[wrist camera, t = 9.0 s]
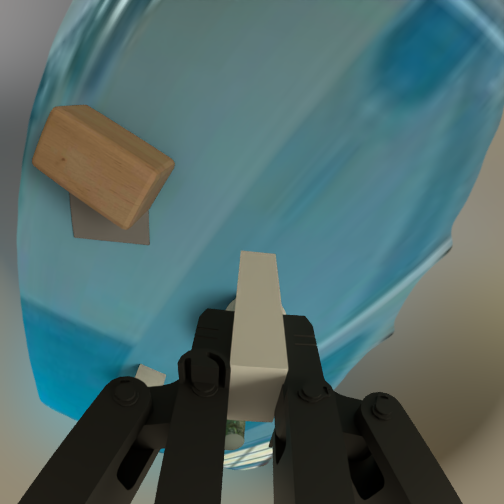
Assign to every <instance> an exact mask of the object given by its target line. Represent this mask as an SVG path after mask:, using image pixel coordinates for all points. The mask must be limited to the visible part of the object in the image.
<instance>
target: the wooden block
mask: <svg viewBox="0 0 504 504" xmlns="http://www.w3.org/2000/svg"><path fill="white" fill-rule="evenodd" d="M32 164H33V165H34V166H35V167H36V168H37V169H39V170H40V171H41V172H43V173H44V174H45V175H47V176H48V177H49V178H51V179H52V180H54V181H55V182H56V183H58V184H59V185H60V186H62V187H63V188H64V189H66V190H67V191H69V192H70V193H71V194H73V195H74V196H76V197H77V198H78V199H80V200H81V201H83V202H84V203H85V204H87V205H88V206H90V207H91V208H93V209H94V210H95V211H97V212H98V213H100V214H101V215H103V216H104V217H106V218H107V219H108V220H110V221H111V222H113V223H114V224H116V225H117V226H119V227H120V228H122V229H125V230H128V229H129V228H131V227H132V226H133V225H134V224H135V223H136V222H137V221H138V220H139V219H140V218H141V217H142V216H143V215H144V214H145V213H146V212H147V211H148V210H149V209H150V207H151V205H152V203H153V202H154V200H155V198H156V197H157V195H158V193H159V192H160V190H161V188H162V187H163V185H164V183H165V182H166V180H167V178H168V177H169V175H170V174H171V172H172V170H173V169H174V166H175V163H174V161H173V160H172V159H171V158H170V157H168V156H166V155H165V154H163V153H162V152H160V151H159V150H157V149H156V148H154V147H153V146H151V145H150V144H148V143H146V142H145V141H143V140H142V139H140V138H139V137H137V136H136V135H134V134H132V133H131V132H129V131H128V130H126V129H124V128H123V127H121V126H120V125H118V124H117V123H115V122H113V121H112V120H110V119H109V118H107V117H105V116H104V115H102V114H101V113H99V112H97V111H96V110H94V109H92V108H91V107H89V106H88V105H72V106H58V107H54V108H53V109H52V111H51V112H50V114H49V117H48V119H47V122H46V124H45V126H44V129H43V131H42V134H41V137H40V139H39V142H38V145H37V147H36V150H35V153H34V156H33V159H32Z"/></svg>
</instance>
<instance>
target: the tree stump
mask: <svg viewBox="0 0 504 504" xmlns="http://www.w3.org/2000/svg"><path fill="white" fill-rule="evenodd" d="M244 431H245V421H241V420H229V419H227V424H226V437H225V450H235V449H238V448H239V447H241V446H242V445H243V444H244Z"/></svg>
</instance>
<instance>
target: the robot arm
mask: <svg viewBox="0 0 504 504" xmlns="http://www.w3.org/2000/svg"><path fill="white" fill-rule="evenodd" d="M316 345H317V344H316V339H315V335H314V330H313V326H312V324H311V323H310V322H309V320H308V319H307V318H306V317H305V316H298V315H284V314H282V306H281V297H280V288H279V280H278V271H277V263H276V255H275V254H269V253H259V252H249V251H241V256H240V266H239V276H238V285H237V295H236V305H235V311H227V310H218V309H209V308H207V309H206V310H205V311H204V312H203V313H202V315H201V316H200V317H199V321H198V325H197V329H196V333H195V337H194V341H193V345H192V349H191V350H190V351H188V352H186V353H185V354H184V355H182V356H181V358H180V360H179V361H178V373H179V380H177V381H175V382H173V383H171V384H167V385H161V386H151V387H147V385H146V384H145V383H144V382H143V381H141V380H140V379H138V378H134V377H130V376H127V377H119V378H116V379H114V380H112V381H111V382H109V383H108V384H107V385H106V386H105V387H104V389H103V390H102V391H101V392H100V394H99V395H98V396H97V398H96V399H95V400H94V401H93V403H92V404H91V405H90V407H89V408H88V409H87V410H86V412H85V413H84V414H83V416H82V417H81V418H80V420H79V421H78V422H77V424H76V425H75V426H74V428H73V429H72V430H71V431H70V433H69V434H68V435H67V437H66V438H65V439H64V441H63V442H62V443H61V445H60V446H59V447H58V449H57V450H56V452H55V453H54V454H53V456H52V457H51V458H50V459H49V461H48V462H47V464H46V465H45V466H44V468H43V469H42V470H41V472H40V473H39V475H38V476H37V477H36V479H35V480H34V482H33V483H32V484H31V486H30V487H29V489H28V490H27V491H26V493H25V494H24V496H23V497H22V498H21V500H20V501H19V503H18V504H130V503H131V501H132V500H133V498H134V496H135V494H136V492H137V491H138V489H139V487H140V485H141V483H142V481H143V480H144V478H145V476H146V474H147V472H148V471H149V469H150V467H151V465H152V463H153V461H154V460H155V458H156V456H157V454H158V452H159V451H160V449H162V448H165V451H164V456H163V461H162V466H161V471H160V476H159V481H158V486H157V492H156V498H155V503H154V504H221V490H222V476H223V463H224V450H225V437H226V424H227V419H229V420H241V421H256V422H273V419H274V416H275V429H274V432H273V434H272V437H271V440H270V444H269V447H272V446H273V484H274V504H462V502H461V500H460V498H459V497H458V495H457V493H456V492H455V490H454V488H453V487H452V485H451V483H450V482H449V480H448V478H447V477H446V475H445V474H444V472H443V470H442V468H441V467H440V465H439V464H438V462H437V460H436V459H435V457H434V455H433V454H432V452H431V451H430V449H429V447H428V446H427V444H426V443H425V441H424V439H423V438H422V436H421V435H420V433H419V432H418V430H417V428H416V427H415V426H414V424H413V422H412V421H411V419H410V418H409V416H408V415H407V413H406V412H405V410H404V409H403V407H402V406H401V404H400V403H399V402H398V401H397V399H396V398H394V397H393V396H391V395H389V394H387V393H382V392H376V393H371V394H369V395H367V396H366V397H365V398H364V399H363V400H358V399H354V398H350V397H346V396H343V395H340V394H338V393H336V392H335V391H333V389H332V387H331V386H330V385H329V384H328V383H327V382H326V381H325V379H324V376H323V372H322V367H321V362H320V357H319V353H318V348H317V346H316Z"/></svg>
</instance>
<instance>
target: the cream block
mask: <svg viewBox="0 0 504 504" xmlns="http://www.w3.org/2000/svg"><path fill="white" fill-rule="evenodd" d="M165 377H166V375H165V374H163V373H160V372H158V371H156V370H153V369H151V368H149V367H146V366H144V365H142V364H140V366H139V368H138V371H137V373H136V376H135V378H138V379H140V380H141V381H143V382H144V383H145V384H146V385H147V387H151V386H161V385H163V384H164V380H165Z"/></svg>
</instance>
